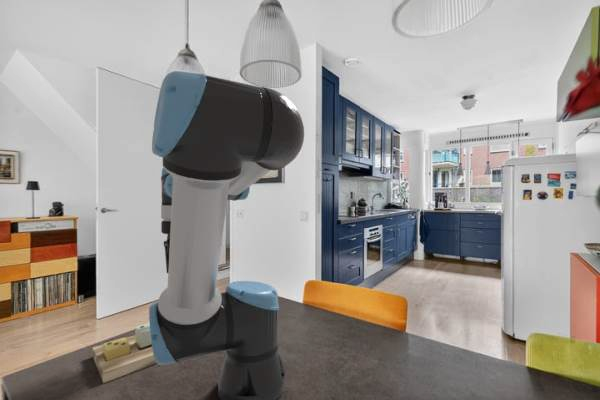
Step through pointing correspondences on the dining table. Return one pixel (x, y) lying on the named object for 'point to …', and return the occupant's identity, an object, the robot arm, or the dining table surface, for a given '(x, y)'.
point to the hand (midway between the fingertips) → (175, 298)
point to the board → (123, 361)
